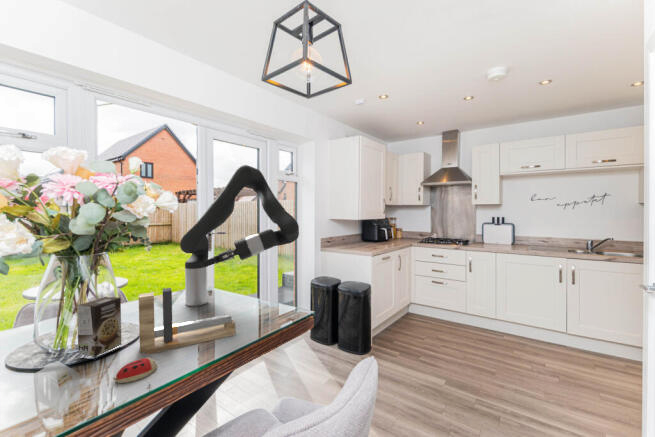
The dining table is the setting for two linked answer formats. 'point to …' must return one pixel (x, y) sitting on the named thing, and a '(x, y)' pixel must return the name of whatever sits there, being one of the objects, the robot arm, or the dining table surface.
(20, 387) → the dining table surface
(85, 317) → the coffee box
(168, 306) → the dark gray slab
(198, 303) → the robot arm
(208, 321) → the silver metal bar
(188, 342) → the wooden track with post
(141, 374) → the ladybug figurine
